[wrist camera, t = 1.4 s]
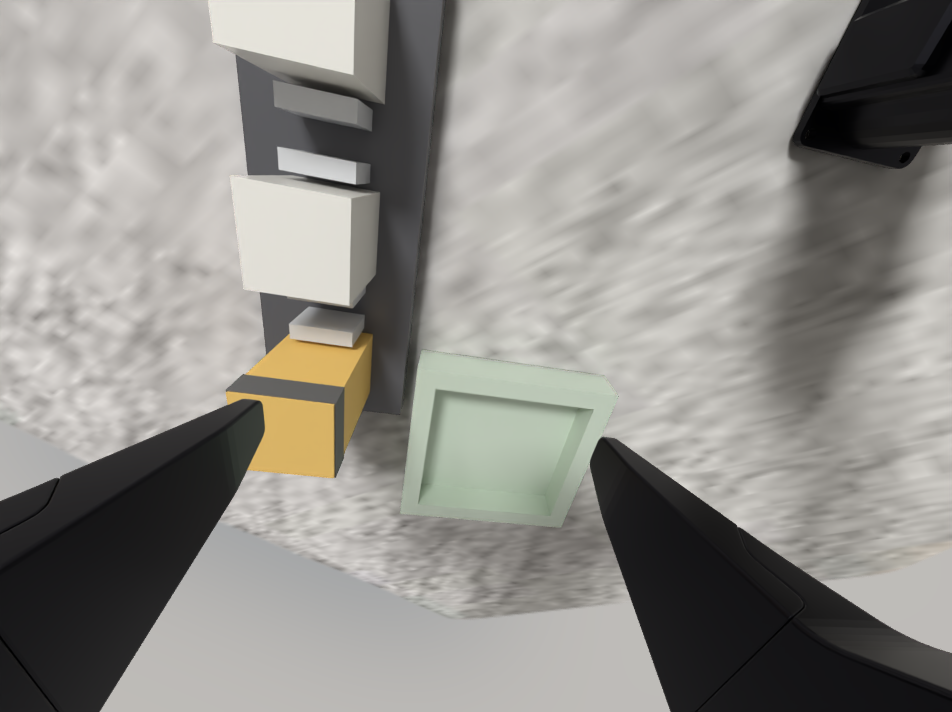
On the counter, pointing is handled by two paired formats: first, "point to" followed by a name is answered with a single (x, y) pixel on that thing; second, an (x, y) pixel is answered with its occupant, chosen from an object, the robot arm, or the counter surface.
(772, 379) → the counter surface
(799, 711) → the robot arm
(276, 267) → the block
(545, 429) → the tray
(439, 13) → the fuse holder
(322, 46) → the block
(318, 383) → the block
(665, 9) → the counter surface
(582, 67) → the counter surface
